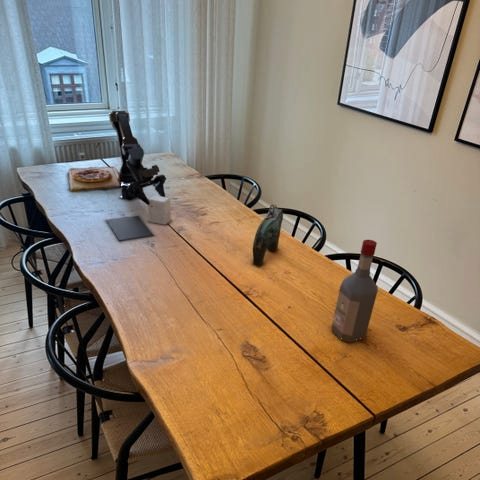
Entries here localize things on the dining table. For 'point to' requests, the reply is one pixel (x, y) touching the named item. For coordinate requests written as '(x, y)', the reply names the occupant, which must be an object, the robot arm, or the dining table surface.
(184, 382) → the dining table surface
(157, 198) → the small box
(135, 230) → the placemat
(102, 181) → the pizza
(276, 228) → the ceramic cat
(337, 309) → the liquor
